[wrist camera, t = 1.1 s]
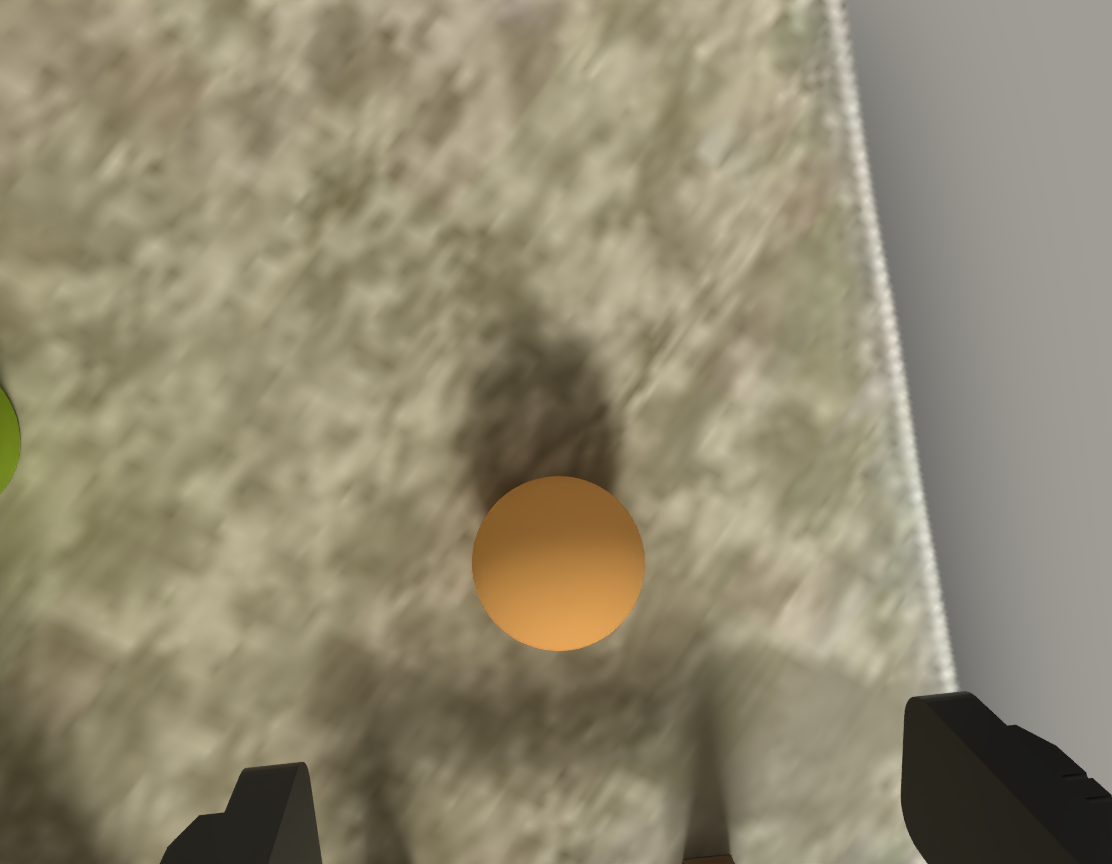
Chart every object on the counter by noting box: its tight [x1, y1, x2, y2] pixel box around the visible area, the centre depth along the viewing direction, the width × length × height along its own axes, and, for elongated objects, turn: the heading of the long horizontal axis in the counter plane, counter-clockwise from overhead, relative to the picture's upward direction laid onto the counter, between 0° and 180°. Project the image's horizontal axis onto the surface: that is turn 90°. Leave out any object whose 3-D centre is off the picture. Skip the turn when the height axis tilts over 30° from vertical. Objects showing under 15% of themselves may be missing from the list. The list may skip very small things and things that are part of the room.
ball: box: [472, 476, 645, 651], centre depth 28 cm, size 6×6×6 cm
